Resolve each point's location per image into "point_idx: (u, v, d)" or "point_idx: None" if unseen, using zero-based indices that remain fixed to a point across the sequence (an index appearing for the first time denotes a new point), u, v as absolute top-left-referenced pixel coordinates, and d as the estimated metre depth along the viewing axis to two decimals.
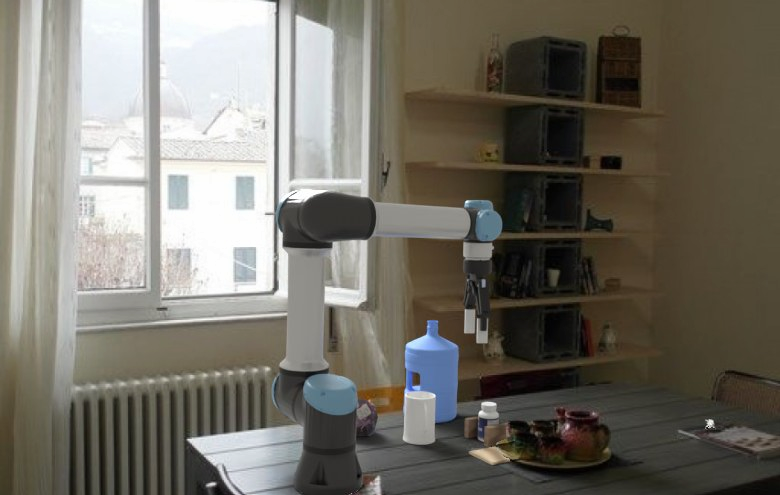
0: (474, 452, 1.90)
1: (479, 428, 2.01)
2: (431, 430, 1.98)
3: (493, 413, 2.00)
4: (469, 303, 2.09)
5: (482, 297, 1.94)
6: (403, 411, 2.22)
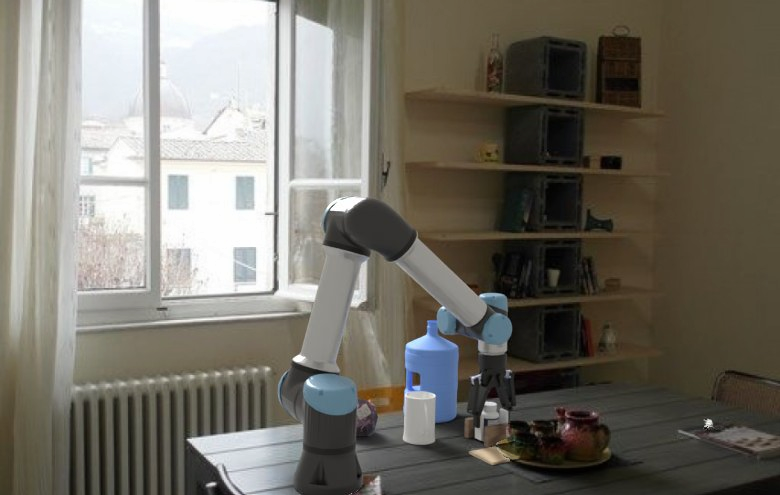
0: (474, 452, 1.90)
1: None
2: (431, 430, 1.98)
3: (493, 413, 2.00)
4: (501, 401, 2.05)
5: (470, 394, 1.99)
6: (403, 411, 2.22)
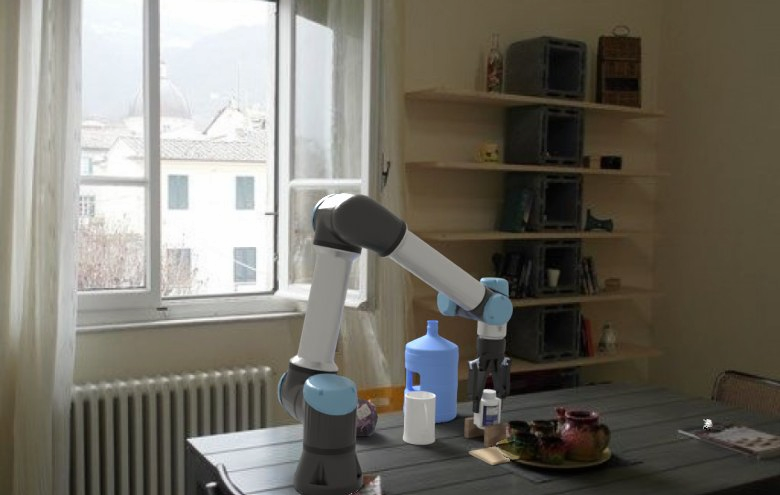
0: (474, 452, 1.90)
1: None
2: (431, 430, 1.98)
3: (492, 400, 2.00)
4: (495, 388, 2.03)
5: (469, 379, 1.98)
6: (403, 411, 2.22)
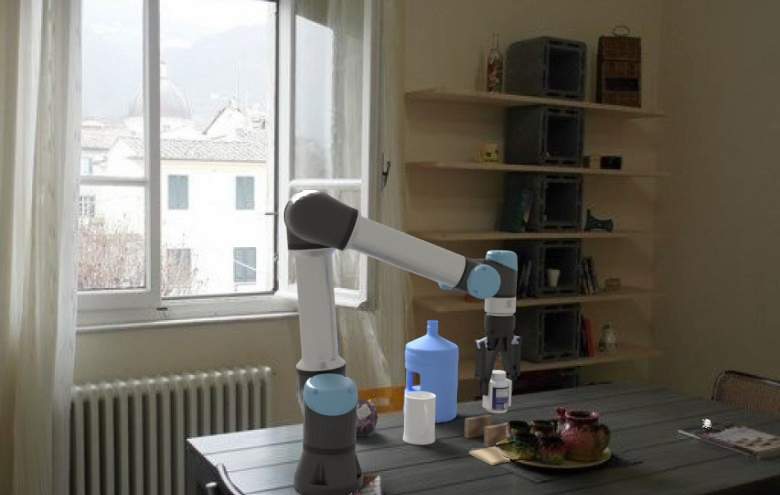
0: (474, 452, 1.90)
1: None
2: (431, 430, 1.98)
3: (502, 381, 1.87)
4: (505, 369, 1.90)
5: (477, 359, 1.85)
6: (403, 411, 2.22)
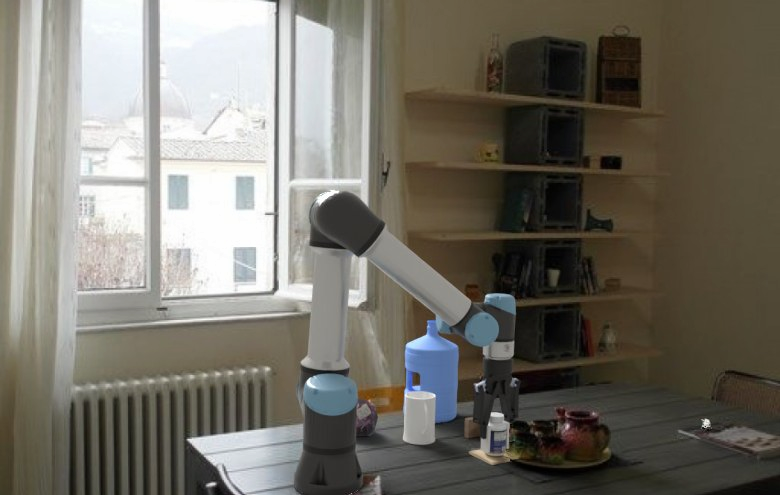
0: (474, 452, 1.90)
1: None
2: (431, 430, 1.98)
3: (500, 425, 1.87)
4: (503, 411, 1.91)
5: (475, 402, 1.86)
6: (403, 411, 2.22)
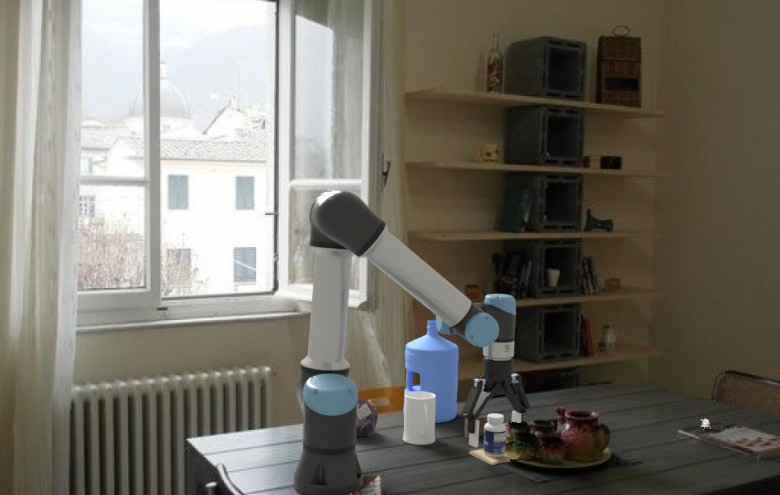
0: (474, 452, 1.90)
1: (485, 442, 1.88)
2: (431, 430, 1.98)
3: (500, 426, 1.87)
4: (513, 405, 1.92)
5: (469, 397, 1.85)
6: (403, 411, 2.22)
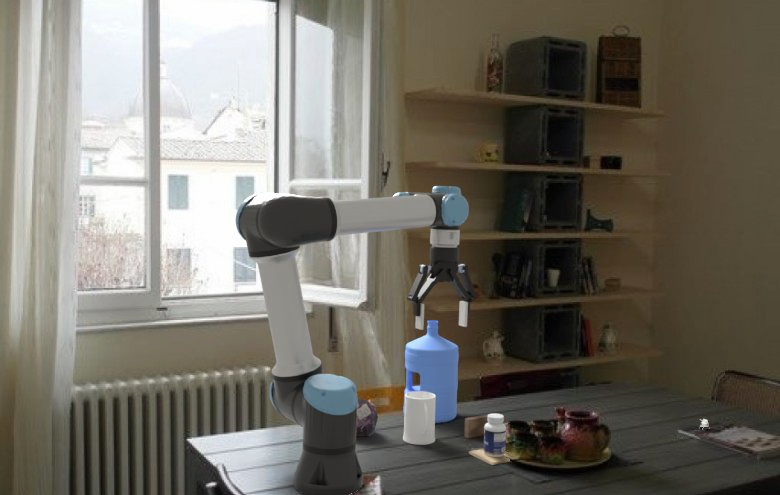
0: (474, 452, 1.90)
1: (485, 442, 1.88)
2: (431, 430, 1.98)
3: (500, 426, 1.87)
4: (460, 294, 2.01)
5: (415, 281, 1.94)
6: (403, 411, 2.22)
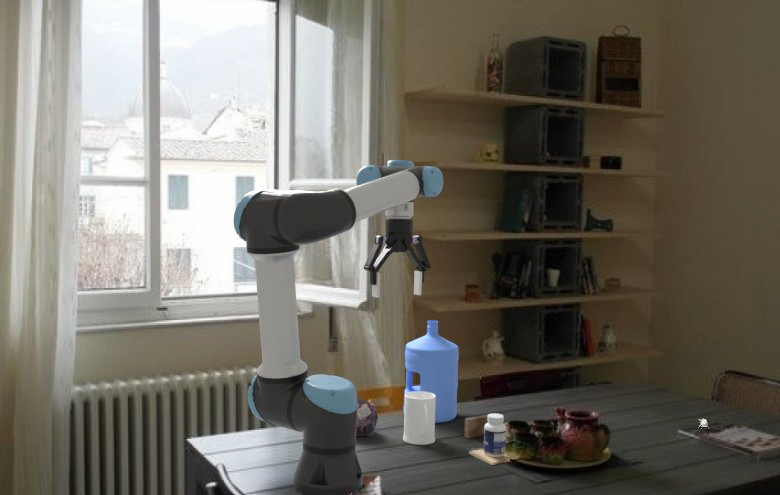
0: (474, 452, 1.90)
1: (485, 442, 1.88)
2: (431, 430, 1.98)
3: (500, 426, 1.87)
4: (415, 264, 2.11)
5: (372, 251, 2.03)
6: (403, 411, 2.22)
